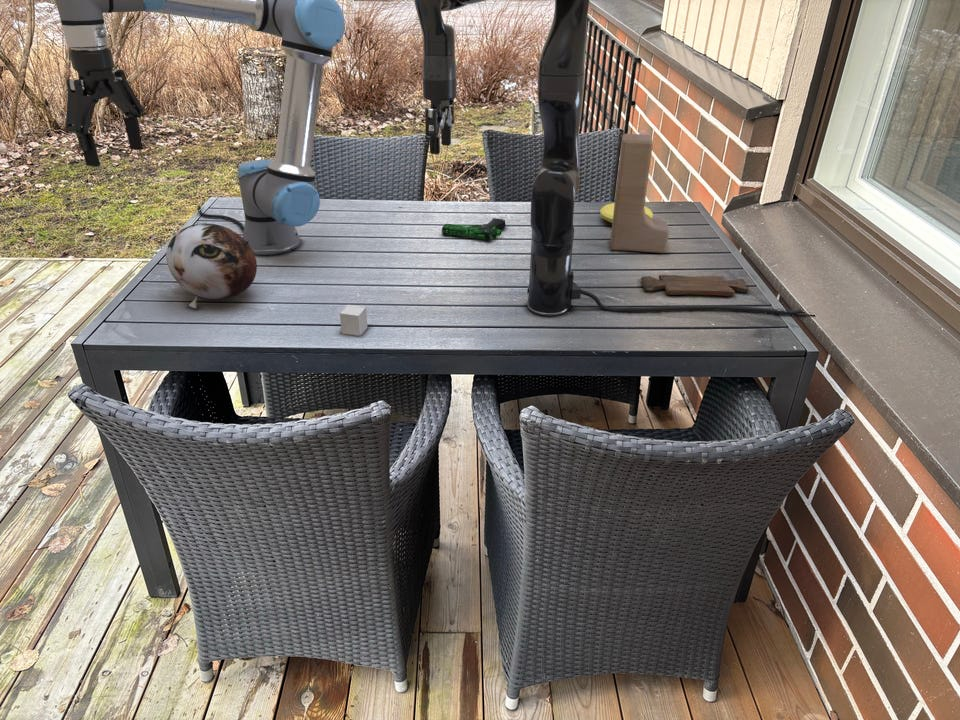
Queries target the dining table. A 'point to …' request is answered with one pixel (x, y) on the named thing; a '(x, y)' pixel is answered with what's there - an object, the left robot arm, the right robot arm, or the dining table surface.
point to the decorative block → (635, 200)
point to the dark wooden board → (694, 285)
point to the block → (353, 320)
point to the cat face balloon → (211, 261)
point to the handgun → (476, 230)
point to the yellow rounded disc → (609, 210)
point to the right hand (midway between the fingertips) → (440, 149)
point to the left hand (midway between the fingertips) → (116, 157)
